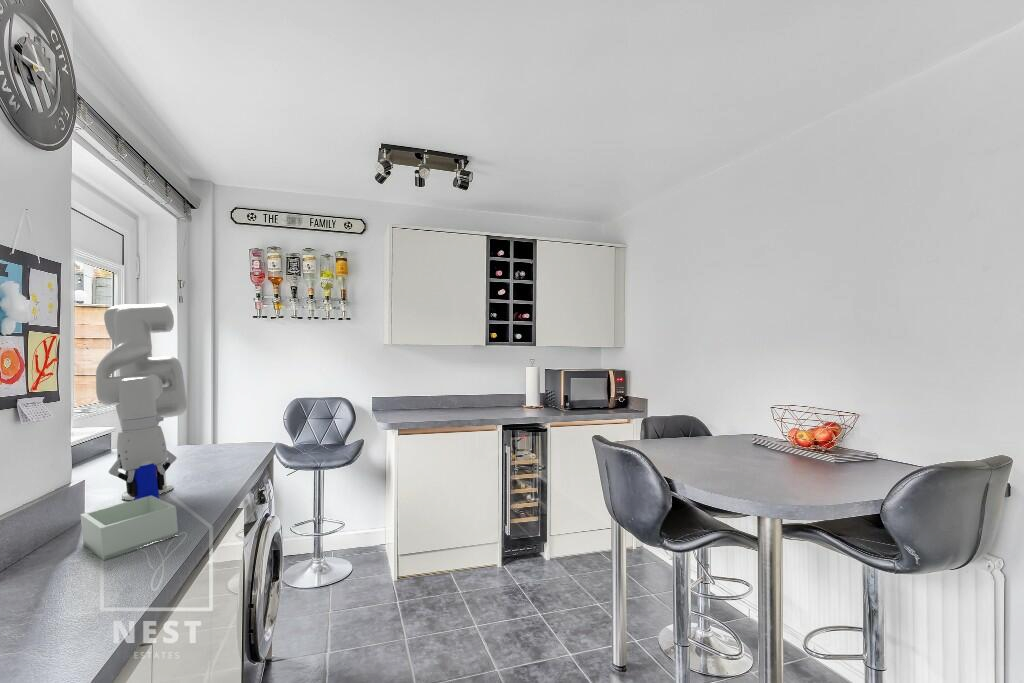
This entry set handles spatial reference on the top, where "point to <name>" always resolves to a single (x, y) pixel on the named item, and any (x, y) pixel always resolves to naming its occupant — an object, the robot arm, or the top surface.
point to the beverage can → (146, 480)
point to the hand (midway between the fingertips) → (146, 491)
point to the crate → (128, 526)
